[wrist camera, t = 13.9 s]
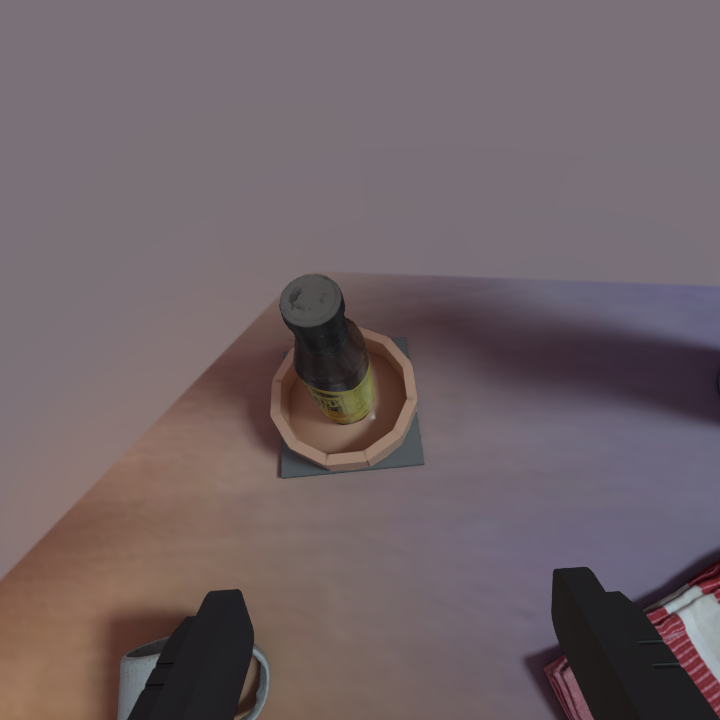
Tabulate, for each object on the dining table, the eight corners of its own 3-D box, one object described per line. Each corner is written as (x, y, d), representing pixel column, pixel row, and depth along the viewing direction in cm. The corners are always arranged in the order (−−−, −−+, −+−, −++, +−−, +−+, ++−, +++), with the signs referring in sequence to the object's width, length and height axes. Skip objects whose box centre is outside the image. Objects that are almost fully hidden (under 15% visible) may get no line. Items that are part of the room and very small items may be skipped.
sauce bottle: (309, 399, 41) (236, 292, 24) (352, 364, 43) (312, 239, 25) (345, 442, 39) (293, 359, 21) (389, 404, 40) (376, 296, 22)
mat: (405, 339, 45) (405, 337, 44) (424, 464, 38) (424, 463, 38) (285, 354, 46) (283, 352, 45) (283, 478, 39) (281, 477, 39)
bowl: (405, 337, 44) (405, 319, 41) (424, 463, 38) (426, 455, 34) (283, 352, 45) (273, 336, 42) (281, 477, 39) (268, 471, 35)
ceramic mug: (151, 757, 30) (79, 819, 23) (159, 636, 34) (98, 659, 27) (277, 733, 30) (241, 789, 23) (271, 615, 34) (239, 633, 27)
